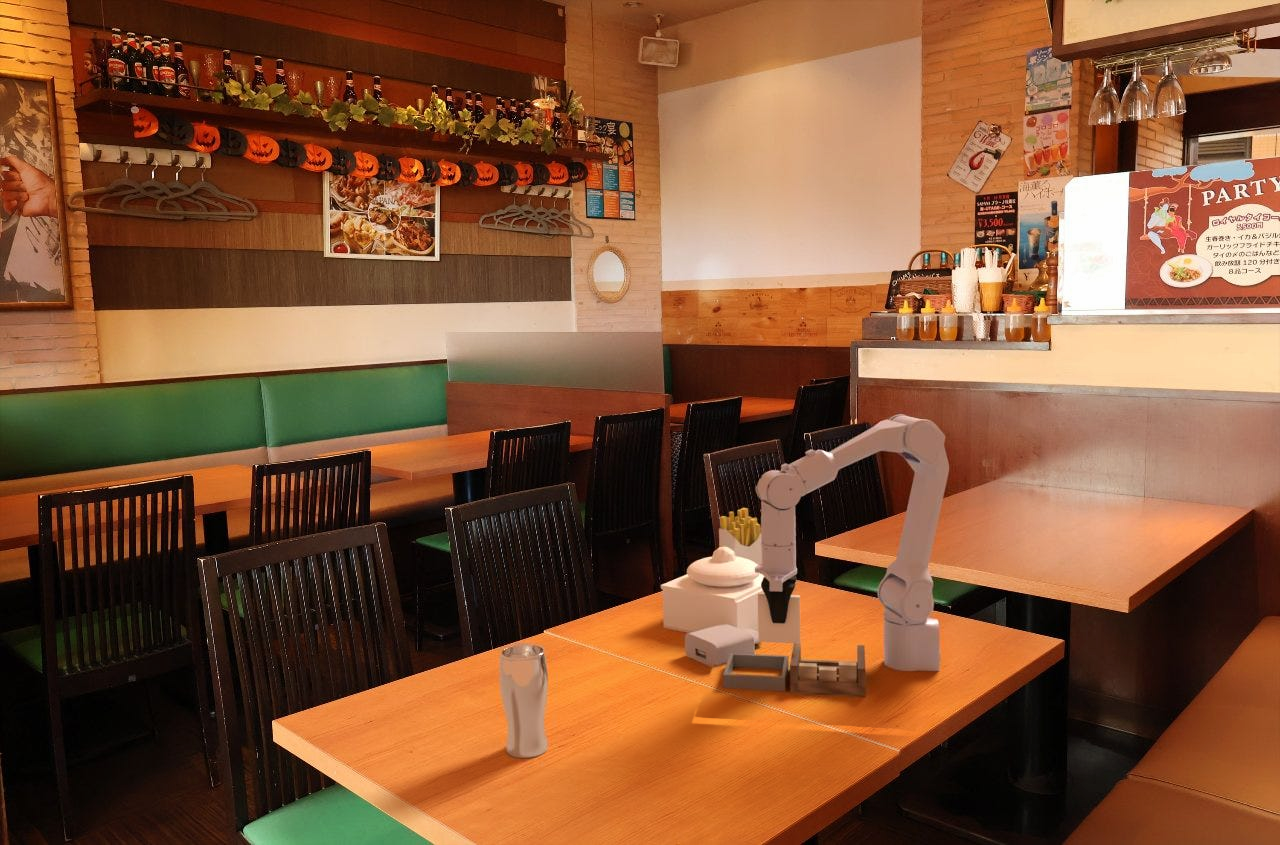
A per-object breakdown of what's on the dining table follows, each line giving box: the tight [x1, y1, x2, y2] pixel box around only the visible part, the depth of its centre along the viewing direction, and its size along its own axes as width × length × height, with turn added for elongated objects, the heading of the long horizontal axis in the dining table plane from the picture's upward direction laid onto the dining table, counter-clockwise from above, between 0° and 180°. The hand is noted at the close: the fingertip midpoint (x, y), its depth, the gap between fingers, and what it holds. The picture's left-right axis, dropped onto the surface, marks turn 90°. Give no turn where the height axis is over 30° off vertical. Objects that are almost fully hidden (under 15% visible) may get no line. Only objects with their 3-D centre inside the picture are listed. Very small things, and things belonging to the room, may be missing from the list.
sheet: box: [758, 594, 801, 644], centre depth 164 cm, size 7×1×8 cm, turn 78°
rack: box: [789, 642, 867, 698], centre depth 163 cm, size 12×12×5 cm
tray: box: [722, 653, 790, 692], centre depth 165 cm, size 10×10×3 cm
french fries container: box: [718, 507, 762, 574], centre depth 219 cm, size 5×11×18 cm, turn 135°
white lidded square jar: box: [660, 547, 765, 634], centre depth 196 cm, size 18×18×16 cm
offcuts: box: [799, 661, 857, 682], centre depth 159 cm, size 9×2×4 cm, turn 78°
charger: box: [684, 624, 761, 668], centre depth 180 cm, size 5×9×15 cm
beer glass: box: [499, 642, 549, 759], centre depth 142 cm, size 7×7×15 cm
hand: (779, 621), depth 164 cm, fingers closed on sheet, 1 cm apart
